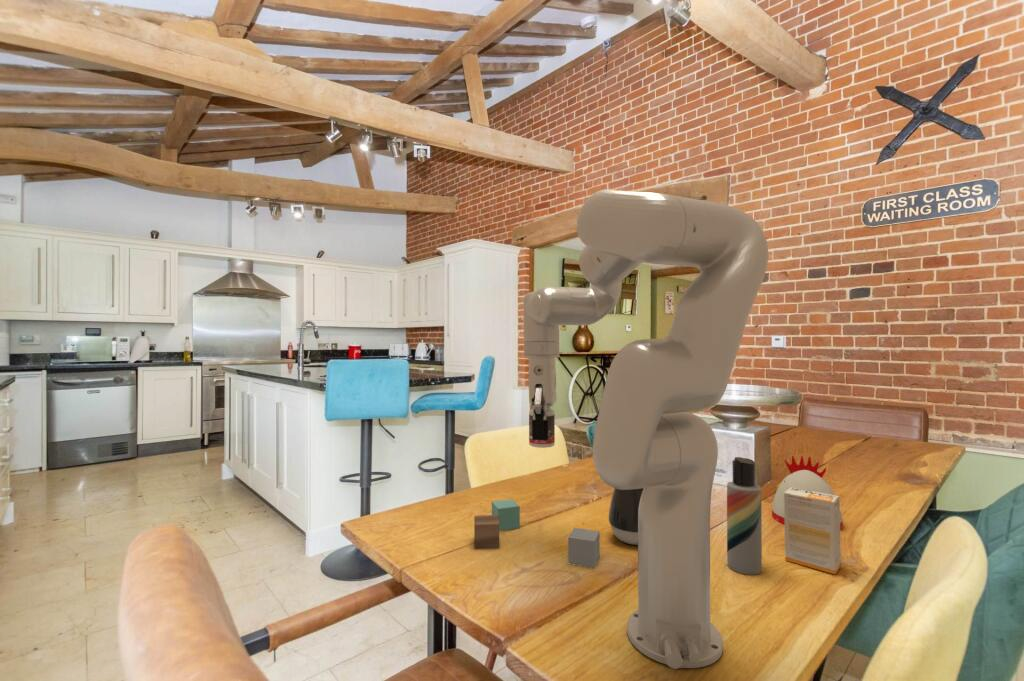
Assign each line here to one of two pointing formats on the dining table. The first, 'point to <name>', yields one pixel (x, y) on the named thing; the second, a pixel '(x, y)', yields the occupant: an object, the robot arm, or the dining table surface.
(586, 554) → the slate-grey block
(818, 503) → the supplement box
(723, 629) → the dining table surface
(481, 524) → the walnut block
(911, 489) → the dining table surface
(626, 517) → the pump dispenser
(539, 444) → the pill bottle
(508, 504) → the teal block
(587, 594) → the dining table surface
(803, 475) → the kitchen timer
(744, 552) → the lotion bottle
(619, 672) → the dining table surface
